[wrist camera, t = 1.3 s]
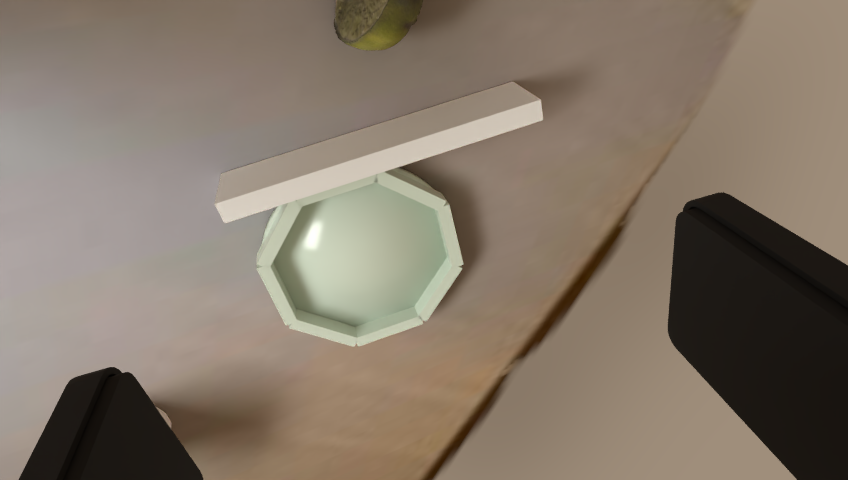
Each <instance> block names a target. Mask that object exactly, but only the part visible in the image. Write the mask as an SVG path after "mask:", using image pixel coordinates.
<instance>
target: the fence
mask: <svg viewBox="0 0 848 480" xmlns="http://www.w3.org/2000/svg"><path fill="white" fill-rule="evenodd" d="M542 120H543V114H542V105H541V99H539V98H538V97H536V96H535V95H533V94H532V93H530V92H529V91H527V90H525V89H524V88H522V87H521V86H519V85H518V84H516V83H515V82H513V81H512V82H509V83H506V84H503V85H499V86H496V87H493V88H490V89H487V90H484V91H480V92H477V93H474V94H471V95H468V96H465V97H461V98H458V99H455V100H452V101H449V102H446V103H442V104H439V105H436V106H433V107H430V108H427V109H423V110H420V111H417V112H414V113H411V114H408V115H404V116H401V117H398V118H395V119H392V120H389V121H386V122H382V123H379V124H376V125H373V126H370V127H367V128H363V129H360V130H357V131H354V132H351V133H348V134H344V135H341V136H338V137H335V138H332V139H329V140H325V141H322V142H319V143H316V144H313V145H310V146H306V147H303V148H300V149H297V150H294V151H291V152H287V153H284V154H281V155H278V156H275V157H272V158H268V159H265V160H262V161H259V162H256V163H253V164H249V165H246V166H243V167H240V168H237V169H234V170H230V171H227V172H224V173H221V176H220V181H219V186H218V190H217V195H216V199H215V206H216V208H217V210H218V212H219V214H220V215H221V217H222V219H223V221H224V223H228V222H231V221H234V220H237V219H240V218H243V217H246V216H249V215H252V214H255V213H258V212H262V211H265V210H268V209H271V208H274V207H277V206H280V205H283V204H286V203H289V202H292V201H295V200H299V199H302V198H305V197H308V196H311V195H314V194H317V193H320V192H323V191H326V190H329V189H332V188H336V187H339V186H342V185H345V184H348V183H351V182H354V181H357V180H360V179H363V178H366V177H370V176H373V175H376V174H379V173H382V172H385V171H388V170H391V169H394V168H397V167H400V166H403V165H407V164H410V163H413V162H416V161H419V160H422V159H425V158H428V157H431V156H434V155H437V154H441V153H444V152H447V151H450V150H453V149H456V148H459V147H462V146H465V145H468V144H471V143H474V142H478V141H481V140H484V139H487V138H490V137H493V136H496V135H499V134H502V133H505V132H508V131H512V130H515V129H518V128H521V127H524V126H527V125H530V124H533V123H536V122H539V121H542Z"/></svg>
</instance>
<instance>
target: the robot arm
mask: <svg viewBox="0 0 848 480" xmlns="http://www.w3.org/2000/svg"><path fill="white" fill-rule="evenodd" d="M668 333H669V337H670V339H671V341H672V343H673V345H674V346H675V347H676V349H677V350H678V351H679V352H680V353H681V354H682V355H683V356H684V357H685V358H686V360H687V361H688V362H689V363H690V364H691V365H692V366H693V367H694V368H695V369H696V370H697V372H699V374H700V375H701V376H702V377H703V378H704V379H705V380H706V381H707V382H708V383H709V385H710V386H711V387H712V388H713V389H714V390H715V391H716V392H717V393H718V394H719V395H720V396H721V397H722V398H723V400H724V401H725V402H726V403H727V404H728V405H729V406H730V407H731V408H732V409H733V410H734V412H735V413H736V414H737V415H738V416H739V417H740V418H741V419H742V420H743V421H744V422H745V424H747V426H748V427H749V428H750V429H751V430H752V431H753V432H754V433H755V434H756V435H757V436H758V438H759V439H760V440H761V441H762V442H763V443H764V444H765V445H766V446H767V447H768V448H769V450H770V451H771V452H772V453H773V454H774V455H775V456H776V457H777V458H778V459H779V460H780V461H781V463H782V464H783V465H784V466H785V467H786V468H787V469H788V470H789V471H790V472H791V473H792V474H793V475H794V477H795V478H796V479H797V480H848V265H846V264H844V263H843V262H841V261H839V260H838V259H836V258H834V257H833V256H831V255H829V254H828V253H826V252H824V251H823V250H821V249H819V248H818V247H816V246H814V245H813V244H811V243H809V242H808V241H806V240H804V239H802V238H801V237H799V236H798V235H796V234H794V233H793V232H791V231H789V230H788V229H786V228H784V227H782V226H781V225H779V224H778V223H776V222H774V221H772V220H771V219H769V218H767V217H766V216H764V215H762V214H761V213H759V212H757V211H755V210H754V209H752V208H751V207H749V206H747V205H746V204H744V203H742V202H741V201H739V200H737V199H736V198H734V197H732V196H731V195H729V194H726V193H716V194H712V195H709V196H705V197H702V198H699V199H695V200H691V201H689V202H687V203H686V204H685V206H684V208H683V212H681V213H679V214H678V216H677V218H676V226H675V239H674V252H673V265H672V279H671V291H670V304H669V318H668ZM19 480H203V477H202V474H201V472H200V470H199V469H198V467H197V466H196V464H195V463H194V461H193V460H192V459H191V457H190V456H189V454H188V453H187V451H186V450H185V448H184V447H183V446H182V444H181V443H180V441H179V440H178V438H177V437H176V435H175V434H174V433H173V431H172V430H171V428H170V427H169V425H168V424H167V423H166V421H165V420H164V418H163V417H162V415H161V414H160V412H159V411H158V410H157V408H156V407H155V405H154V404H153V402H152V401H151V400H150V398H149V397H148V395H147V394H146V392H145V391H144V389H143V388H142V387H141V385H140V384H139V382H138V381H137V379H136V378H135V377H134V376H133V375H132V374H131V373H129V372H125V373H122V372H121V371H120V370H119V369H117V368H115V367H109V368H105V369H102V370H98V371H95V372H92V373H88V374H85V375H81V376H78V377H75V378H73V379H71V380H70V381H69V383H68V384H67V385H66V387H65V389H64V391H63V393H62V395H61V397H60V399H59V401H58V403H57V405H56V407H55V409H54V411H53V413H52V415H51V417H50V419H49V421H48V423H47V425H46V427H45V429H44V431H43V433H42V435H41V437H40V439H39V441H38V443H37V444H36V446H35V448H34V450H33V452H32V454H31V456H30V458H29V460H28V462H27V464H26V466H25V468H24V470H23V472H22V474H21V476H20V478H19Z"/></svg>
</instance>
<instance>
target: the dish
mask: <svg viewBox="0 0 848 480" xmlns="http://www.w3.org/2000/svg"><path fill="white" fill-rule="evenodd" d="M461 265H464V264H463V260H462V256H461V252H460V247H459V243H458V239H457V235H456V230H455V226H454V222H453V218H452V214H451V209H450V205H449V203H448V202H447V200H446V198H445V197H444V196H443V195H442V193H440V192H438V191H436V190H434V189H433V188H432V187H431V186H430V185H429V184H428V183H426V182H425V181H424V180H422V179H421V178H420V177H418V176H416V175H415V174H413V173H411V172H409V171H407V170H404V169H402V168H399V167H397V168H394V169H391V170H388V171H385V172H382V173H379V174H376V175H373V176H370V177H366V178H363V179H360V180H357V181H354V182H351V183H348V184H345V185H342V186H339V187H336V188H332V189H329V190H326V191H323V192H320V193H317V194H314V195H311V196H308V197H305V198H302V199H299V200H295V201H292V202H289V203H286V204H283V205H280V206H277V207H276V208H275V210H274V211H273V213H272V215H271V216H270V218H269V221H268V223H267V225H266V228H265V231H264V235H263V239H262V245H261V247H260V249H259V251H258V253H257V271H258V272H259V274H260V276H261V278H262V280H263V282H264V284H265V286H266V288H267V290H268V292H269V294H270V296H271V298H272V300H273V302H274V304H275V306H276V307H277V309H278V311H279V313H280V315H281V317H282V319H283V321H284V323H285V325H289V328H290V329H294V330H297V331H301V332H304V333H308V334H311V335H315V336H318V337H322V338H325V339H329V340H332V341H335V342H339V343H342V344H346V345H349V346H353V347H354V346H355V344H356V343H357V345H358V347H359V346H362V345H364V344H367V343H370V342H373V341H376V340H379V339H382V338H384V337H387V336H390V335H393V334H396V333H399V332H401V331H404V330H407V329H410V328H413V327H416V326H419V325H421V324H423V322H422V320H424V321H427V320H428V319H429V317H430V316H431V314H432V313H433V311H434V310H435V308H436V307H437V305H438V304H439V302H440V301H441V300H442V298H443V297H444V295H445V294H446V292H447V291H448V289H449V288H450V286H451V285H452V283H453V282H454V281H455V279H456V278H457V276H458V275H459V273H460V272H461V270H462V269H463V268H462V266H461Z"/></svg>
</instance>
